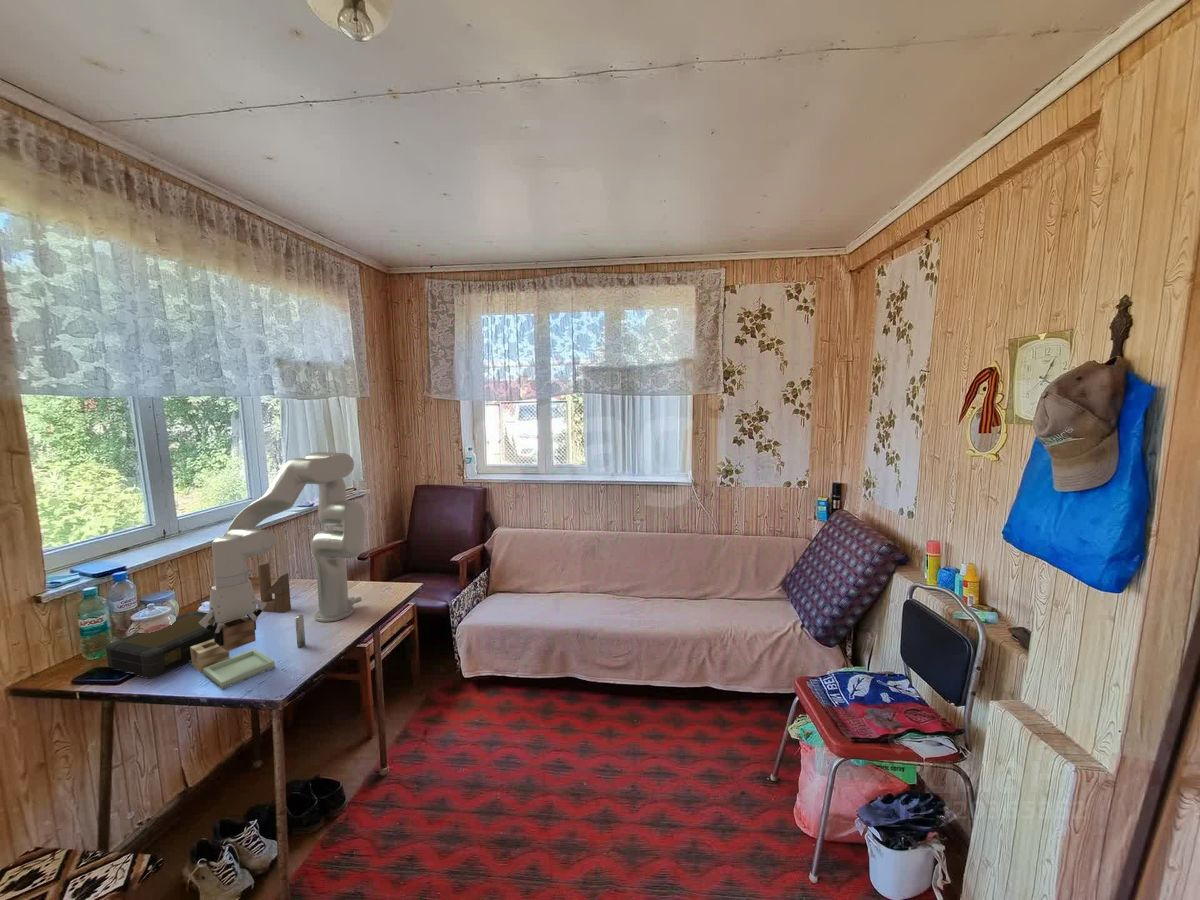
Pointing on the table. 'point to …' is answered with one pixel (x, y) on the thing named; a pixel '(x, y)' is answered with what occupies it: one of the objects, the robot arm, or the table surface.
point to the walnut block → (238, 632)
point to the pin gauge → (300, 631)
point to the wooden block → (274, 590)
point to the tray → (238, 668)
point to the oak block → (207, 654)
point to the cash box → (159, 647)
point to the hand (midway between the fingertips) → (236, 638)
